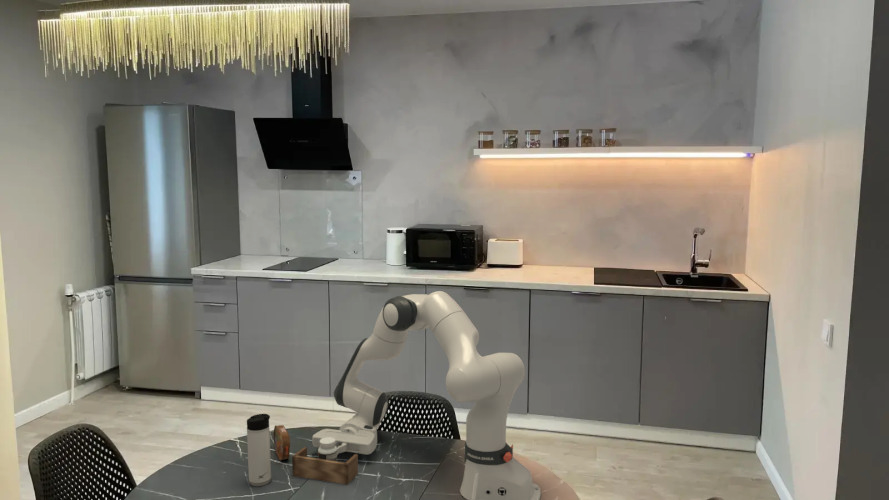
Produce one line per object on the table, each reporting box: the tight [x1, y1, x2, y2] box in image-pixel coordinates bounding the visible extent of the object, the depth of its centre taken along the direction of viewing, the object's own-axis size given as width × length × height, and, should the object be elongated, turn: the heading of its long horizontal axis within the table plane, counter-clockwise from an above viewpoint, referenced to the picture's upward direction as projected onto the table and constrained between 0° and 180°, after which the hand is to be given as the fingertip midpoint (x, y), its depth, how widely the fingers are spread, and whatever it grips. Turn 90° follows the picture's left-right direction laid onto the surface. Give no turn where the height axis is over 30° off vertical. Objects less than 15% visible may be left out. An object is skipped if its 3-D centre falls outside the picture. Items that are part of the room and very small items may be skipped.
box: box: [291, 446, 359, 486], centre depth 189 cm, size 18×7×6 cm, turn 72°
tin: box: [273, 424, 291, 461], centre depth 203 cm, size 15×3×8 cm, turn 25°
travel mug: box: [246, 413, 272, 487], centre depth 184 cm, size 6×7×20 cm
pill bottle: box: [317, 437, 338, 462], centre depth 191 cm, size 6×6×10 cm
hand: (332, 451), depth 194 cm, fingers closed, pressing on pill bottle
